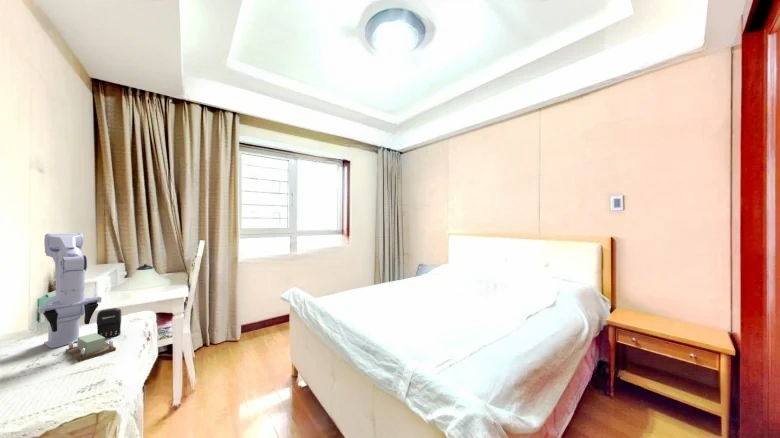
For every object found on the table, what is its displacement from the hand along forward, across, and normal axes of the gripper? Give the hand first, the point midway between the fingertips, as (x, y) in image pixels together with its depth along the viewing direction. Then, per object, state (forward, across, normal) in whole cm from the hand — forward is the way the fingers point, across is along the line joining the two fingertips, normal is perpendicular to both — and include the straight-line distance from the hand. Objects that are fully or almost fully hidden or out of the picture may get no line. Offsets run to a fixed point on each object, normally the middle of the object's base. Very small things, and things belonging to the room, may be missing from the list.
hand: (71, 327), depth 95 cm
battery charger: (+10, +12, +7) cm, 17 cm away
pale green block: (+8, +4, -4) cm, 10 cm away
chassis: (+9, +4, -4) cm, 11 cm away
